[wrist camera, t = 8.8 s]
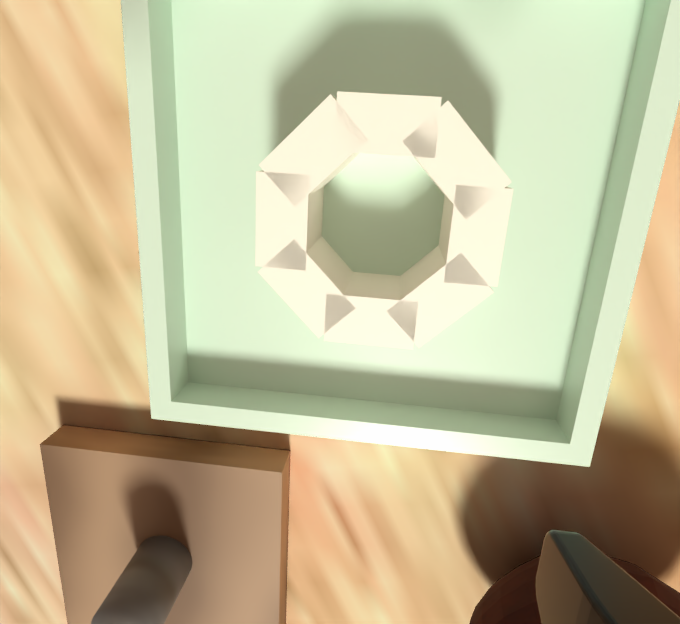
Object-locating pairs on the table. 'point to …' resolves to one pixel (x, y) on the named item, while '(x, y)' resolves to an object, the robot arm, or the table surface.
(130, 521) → the stake board
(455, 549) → the table surface
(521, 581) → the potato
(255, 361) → the tray
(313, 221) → the ring
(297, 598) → the table surface
